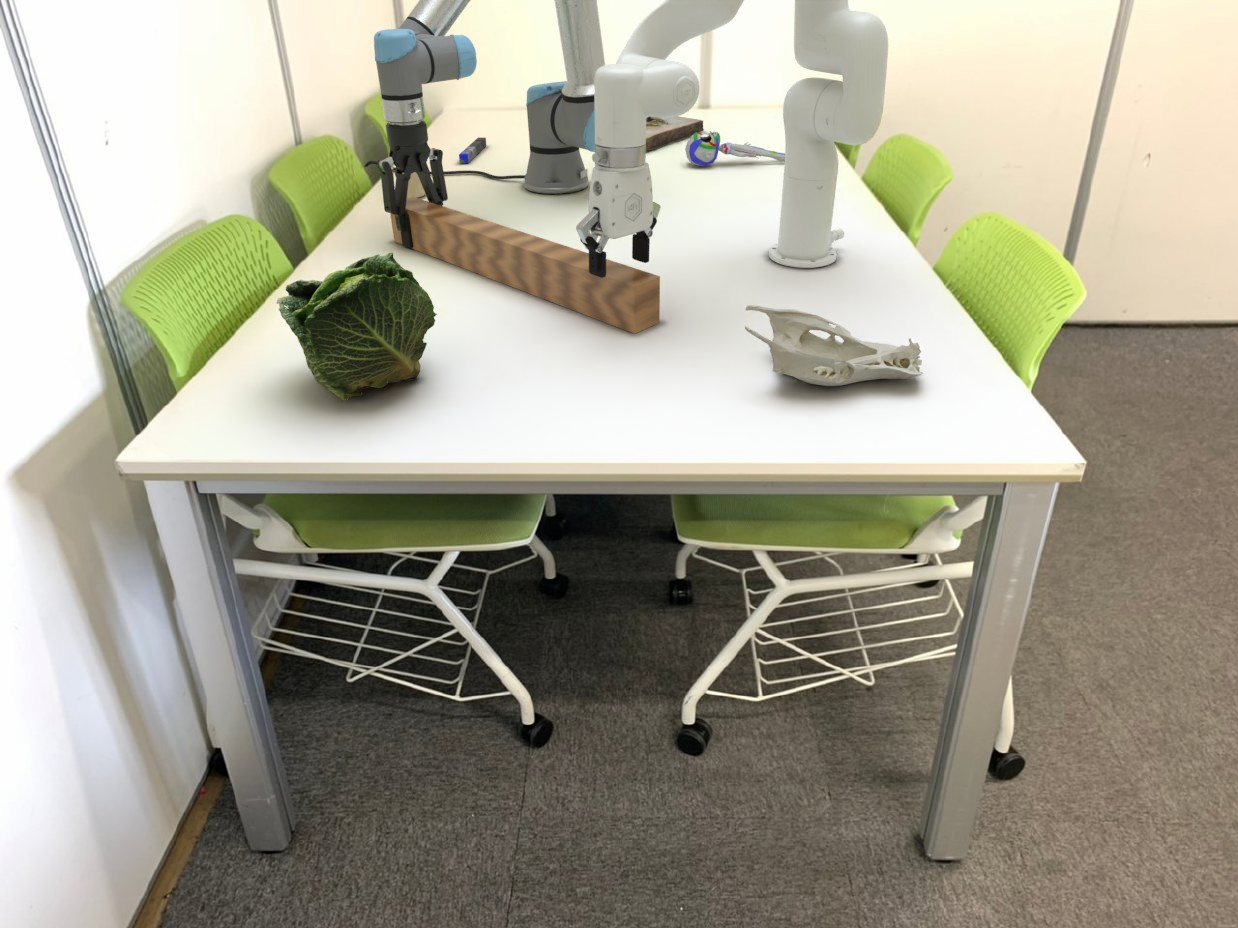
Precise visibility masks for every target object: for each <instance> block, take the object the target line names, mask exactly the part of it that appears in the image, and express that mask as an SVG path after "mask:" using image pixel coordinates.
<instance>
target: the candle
mask: <svg viewBox="0 0 1238 928" xmlns="http://www.w3.org/2000/svg"><path fill="white" fill-rule="evenodd" d="M403 174H404V173H403ZM425 196H426V194H425V191H424V189H423V186H422V184H421V182H420V179H419V177H418V175H417V173H416V172H414V173H412V174H411V178H410V180H409V182H408V191H407V198H411V197H416V198H422V197H425Z"/></svg>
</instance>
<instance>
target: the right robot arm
mask: <svg viewBox="0 0 1238 928" xmlns="http://www.w3.org/2000/svg"><path fill="white" fill-rule="evenodd" d="M744 1H745V0H664V1H663V2H662V3H661V4H660V5H659V6H657V7H656V8H654V9H653V10H652V11H651V12H650V13H649V14H648V15H647V16H646V17H645V18H644V19H643V20H642V21H640V23H639V24H638V25H637V27H636V28H635V29H634V31H633V32H632V33H631V35H630V37H629V39H628V40H627V42H626V43H625V45H624V47H623V49H622V51H621V53H620V55H619V56H618V58H617V61H616V63H613V64H605V65H604V66H602V67H600V68H598V69H597V71H596V73H595V79H594V108H595V152H594V153H593V154H592V156H591V160H592V161H593V163H594V167H593V168H592V172H591V178H590V185H589V195H588V196H589V198H588V214H586V216H585V217H584V218H583V219H581V220H580V222H579V223H578V224H577V225H576V226H575V230H576V232H577V234H578V236H579V237H578V238H579V239H580V240H579V241H580V242H581V243H582V244H583V246H584V248H585V249H586V250H587V251H588V253H589V273H590V274H592V275H595V276H598V277H601V278H603V277H605V276H606V259H607V252H606V251H604V249H605V247H606V245H607V243H608V242H609V239H611V240H617V239H620V238H624V237H628V236H630V235H632V239H631V240H632V241H631V242H632V243H631V244H632V245H631V246H632V247H631V250H632V251H631V255H632V256H631V258H632V259H633V261H634V260H635V261H637V262H640V263H644V264H647V263H649V262H650V240H651V239H650V238H652V236H654V235H653V234H654V231H653V229H655V226H656V225H657V222H658V220H657V218H658V216H659V213H660V210H661V205H660V204H659V203H657V202H655V201H654V197H653V184H652V183H653V182H652V175H651V170H650V169H651V168H650V165H649V163H648V162H647V161H646V154H647V153H646V119H647V117H650V116H651V117H676V116H679V117H681V116H683V115H684V114H686V113H688V112H689V111H690V110H692V109H693V107H694V106H695V104H696V103H697V101H698V99H699V95H700V87H701V86H700V81H699V79H698V76H697V74H696V73H695V71H694V70H693V69H692V68H691V67H689V65H687V64H684V63H682V62H679V61H674V60H669V59H667V58H668V57H669V56H670V55H671V54H672V53H673V51H676V49H677V48H678V47H680V46H681V45H684V44H685V43H686V42H688V41H689V40H692V39H695V38H696V37H699V36H701V35H704V34H707V33H711V32H712V31H714V30H717V29H719V28H721V27H723V26H725V25H727V24H729V23H730V22H732V21H733V19H734V18H735V17H736V15H737V13H738V12H739V10H740V8H741V6H742V5H743V3H744ZM888 36H889V35H888V32H887V29H886V26H885V24H884V22H883V20H882V19H881V18H880V17H879V16H878V15H875V14H874V13H872V12H867V11H858V10H851V9H850V8H849V0H794V22H793V51H794V52H793V53H794V58H795V61H796V63H797V65H799V66H800V67H801V68H804V69H806V70H809V71H814V72H819V73H826V74H832V75H838V76H842V77H841V78H842V80H838V79H831V78H824V77H816V76H815V77H805V78H802V79H800V80H798V81H796V82H794V84H792V85H791V86H790V87H789V89H788V91H787V93H786V94H785V97H784V100H783V105H782V118H783V119H782V120H783V127H784V138H785V161H784V166H783V176H782V177H783V180H782V189H781V190H782V191H781V193H782V194H781V201H780V202H781V203H780V216H779V226H778V227H779V228H778V239H777V243H776V244H774V245H771V247H770V248H769V250H768V257H769V258H770V259H771V261H773V262H774V263H777V264H780V265H781V266H785V267H791V268H799V269H813V268H821V267H826V266H829V265H832V264H833V263H834V262H836V260H837V257H838V256H837V255H838V254H837V251H836V249H835V248H833V247H832V245H833V243H835V242H836V241H838V240H841V239H843V238H844V237H845V231H844V230H843V229H842V228H837V229H834V230H832V227H833V226H832V225H833V216H834V209H835V208H834V207H835V200H836V190H837V181H838V173H839V154H838V150H837V147H836V144H835V143H839V144H844V145H850V146H861V145H864V144H867V143H868V142H870V141H871V140H872V139H873V138H874V136H875V135H876V133H877V132H878V131H879V128H880V125H881V121H882V117H883V113H884V112H883V111H884V106H885V94H886V82H887V81H886V80H887V70H888V59H889V58H888V56H889V37H888ZM599 237H600V238H599ZM598 238H599V239H598ZM597 239H598V241H597Z"/></svg>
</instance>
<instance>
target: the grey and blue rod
mask: <svg viewBox="0 0 1238 928" xmlns="http://www.w3.org/2000/svg"><path fill="white" fill-rule="evenodd" d="M486 147H487V138H486V137H480V136H479V137H477V138H476V139H475V140H474V141H472V142H471V143H470V144H469V145H468V146H467V147H465V149H463V150H462V151H461V152H460V153H459V154H458V159H459V164H469V163H470V162H471V161H472V160H473V159H474V158H475V157H476V156H477V155H478V154H479V153H480V152H482V151H483V150H484V149H485V148H486Z"/></svg>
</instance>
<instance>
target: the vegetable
mask: <svg viewBox="0 0 1238 928" xmlns="http://www.w3.org/2000/svg"><path fill="white" fill-rule="evenodd" d="M285 291H286V292H287V294H288V295H285V296H281V297H278V298H277V300H276V304H278V305H279V308H278V311H279V312H280V315H281V318H282V319H283V320H284V321H285V323H286V324H287V325H288V326H289V329H290V330H291V332H292V333H293V334H294V335H295V337H296V338H297V341H298V343H299V345H300V347H301V348H302V351H303V354H304V357H305V361H306V366H307V367H308V369H309V371H310V372H311V374H312V376H313V378H314V380H315V381H316V382H317V383H318V384H319V385H320V386H321V387H323V388H324V389H326V390H328V391H329V392H332V393H333V394H334V395H336V396H337V397H338V398H339V399H341V400H342V401H348V400H349V399H350V398H351V397H363V396H364V394H363V392H362V391H363V390H364V389H369V388H378V389H379V388H381V389H382V388H383V387H385V386H387V385H388V383H391V384H392V383H398V382H401V381H403V380H406V381H417V380H418V378H419V377H418V376H419V375H420V373H421V363H420V359H421V358H422V357H423V354H424V352H425V350H426V347H427V344H428V342H424V339H425V335H427V332H428V331H429V330H430V329H431V328H433V327H434V326H435V323H436V319H435V317H436V316H437V315H438V313H435V311H434V309H435V306H434V304H433V301H432V298H431V297H430V295H429V294H428V292H427V291H426V290H425V289H424V288H423V287H422V286H421V285H420V283H419V281H418V280H417V279H416V278H415V277H414V275H413V271H410V270H409V269H405V268H404V267H403V266H402V265H401V264H400V263H399V262H398V261H397V259H395V258H394V252H391V251H390V252H388V253H387V254H385V255H380V254H378V253H377V254H375V255H373V256H369V257H363V258H361V259H359V260H357V261H356V262H354V263H352V264H350V265H348V266H346V267H345V269H341V270H336V271H333V272H331V273H328V275H326V277H324V279H323V280H322V281H321V280H314V279H310V280H304V279H299V280H296V281H294V282H293V281H292V283H289V284H287V285H286V286H285Z"/></svg>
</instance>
